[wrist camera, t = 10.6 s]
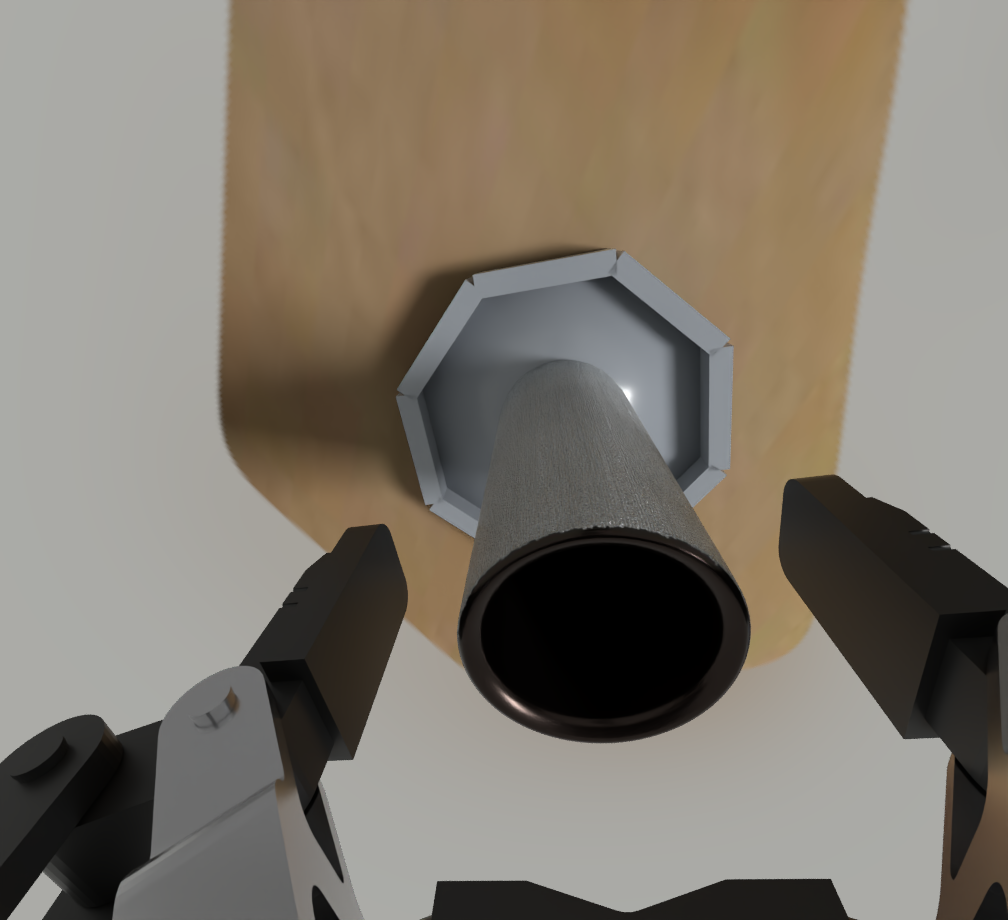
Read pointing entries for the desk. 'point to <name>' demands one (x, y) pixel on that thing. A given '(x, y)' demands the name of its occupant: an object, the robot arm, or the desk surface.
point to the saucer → (565, 336)
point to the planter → (593, 573)
